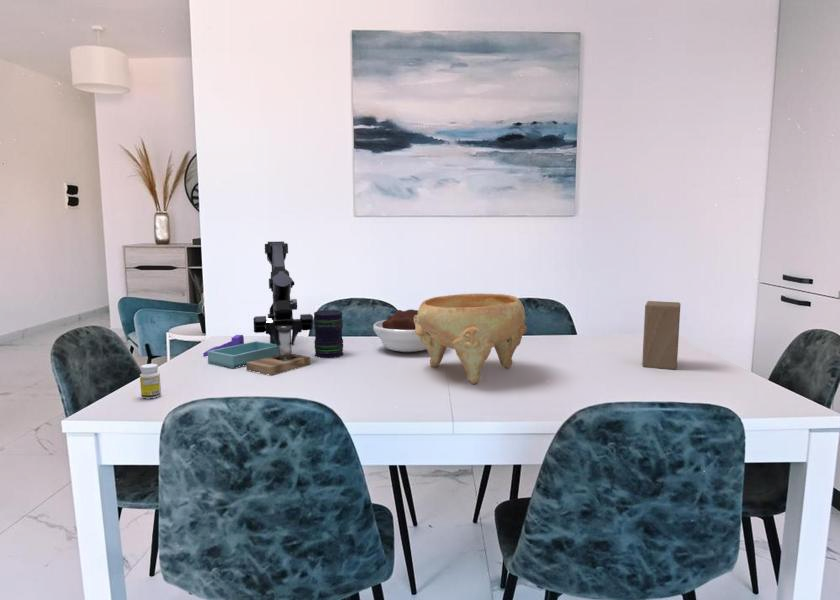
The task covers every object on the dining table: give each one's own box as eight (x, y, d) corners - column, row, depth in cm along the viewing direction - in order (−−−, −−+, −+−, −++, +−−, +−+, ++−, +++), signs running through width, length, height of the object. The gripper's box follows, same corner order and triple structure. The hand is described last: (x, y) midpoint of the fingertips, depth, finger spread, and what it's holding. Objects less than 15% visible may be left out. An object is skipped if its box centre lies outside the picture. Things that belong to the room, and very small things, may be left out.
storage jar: (309, 356, 196) (307, 313, 194) (324, 351, 205) (323, 309, 203) (334, 359, 192) (333, 315, 190) (348, 353, 201) (347, 311, 199)
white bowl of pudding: (361, 354, 199) (361, 311, 197) (389, 341, 222) (389, 302, 220) (429, 360, 190) (429, 315, 188) (451, 345, 214) (451, 305, 212)
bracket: (244, 352, 203) (243, 334, 203) (238, 357, 197) (237, 337, 196) (210, 353, 203) (209, 334, 202) (203, 357, 197) (202, 337, 196)
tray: (256, 352, 203) (256, 341, 203) (282, 356, 196) (281, 345, 195) (208, 363, 187) (207, 351, 186) (233, 368, 179) (233, 356, 179)
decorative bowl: (462, 353, 200) (463, 288, 197) (548, 371, 176) (550, 297, 173) (389, 370, 177) (389, 297, 174) (476, 394, 152) (477, 308, 149)
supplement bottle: (145, 394, 153) (143, 363, 152) (163, 393, 153) (162, 363, 152) (138, 399, 148) (136, 367, 147) (157, 399, 148) (155, 367, 147)
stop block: (286, 360, 191) (286, 352, 191) (310, 364, 185) (310, 356, 184) (246, 370, 177) (246, 362, 177) (270, 375, 171) (270, 367, 171)
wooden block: (677, 363, 186) (680, 302, 183) (676, 370, 177) (680, 306, 174) (644, 360, 190) (647, 300, 187) (642, 367, 181) (645, 304, 178)
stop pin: (286, 362, 187) (284, 323, 185) (297, 365, 184) (296, 325, 182) (273, 366, 183) (272, 326, 181) (285, 368, 180) (283, 327, 178)
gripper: (252, 291, 181) (253, 332, 172) (311, 289, 187) (316, 328, 178) (253, 312, 190) (254, 352, 181) (310, 310, 195) (314, 348, 186)
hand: (285, 344), depth 181 cm, fingers closed on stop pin, 4 cm apart
